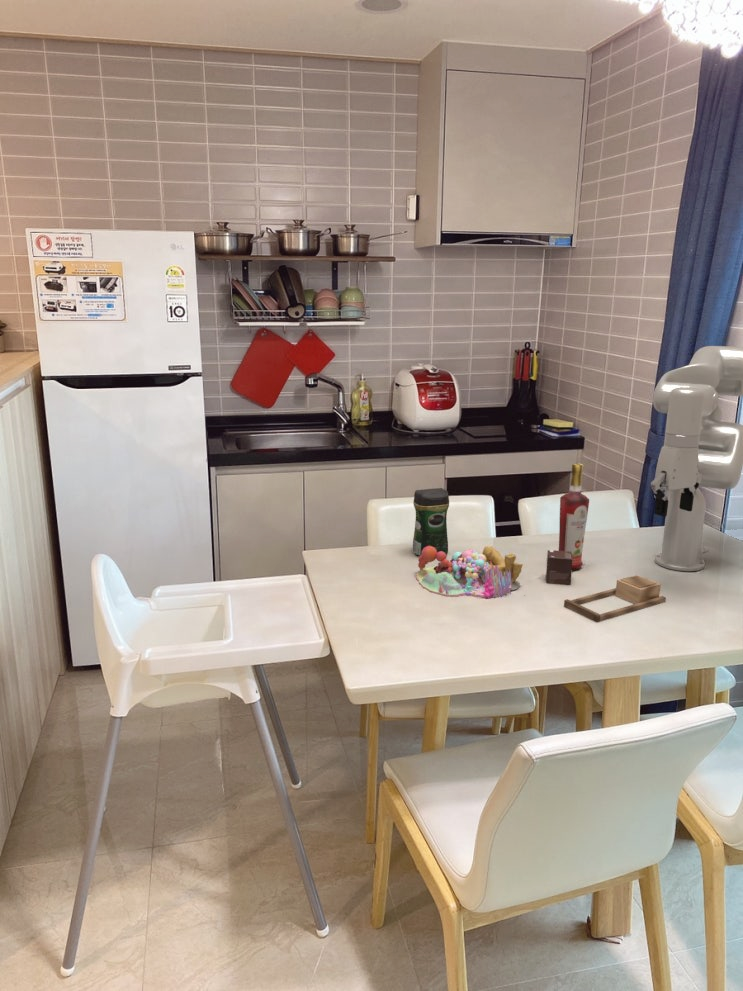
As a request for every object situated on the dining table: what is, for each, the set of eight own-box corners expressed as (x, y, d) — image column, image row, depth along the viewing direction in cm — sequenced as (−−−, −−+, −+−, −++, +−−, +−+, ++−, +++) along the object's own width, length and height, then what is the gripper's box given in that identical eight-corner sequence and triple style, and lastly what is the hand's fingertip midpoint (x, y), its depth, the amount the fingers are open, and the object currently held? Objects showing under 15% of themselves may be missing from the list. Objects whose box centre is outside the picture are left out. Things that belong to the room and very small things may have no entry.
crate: (635, 590, 188) (636, 574, 187) (658, 599, 182) (660, 583, 181) (615, 595, 184) (616, 579, 183) (638, 605, 178) (640, 589, 177)
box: (570, 587, 190) (573, 559, 188) (545, 585, 192) (547, 557, 190) (569, 578, 196) (571, 551, 194) (545, 576, 197) (547, 549, 195)
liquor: (573, 561, 208) (581, 460, 201) (588, 570, 202) (598, 466, 194) (549, 563, 206) (557, 462, 199) (564, 573, 199) (573, 468, 192)
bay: (631, 589, 189) (632, 581, 189) (665, 603, 181) (666, 595, 180) (563, 608, 178) (564, 600, 177) (596, 623, 169) (597, 615, 169)
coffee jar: (439, 547, 218) (442, 484, 213) (451, 556, 211) (454, 491, 206) (408, 551, 215) (409, 486, 210) (419, 560, 208) (421, 494, 203)
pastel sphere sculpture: (483, 561, 209) (484, 528, 206) (537, 591, 188) (540, 555, 186) (402, 575, 198) (403, 541, 195) (451, 608, 178) (452, 571, 175)
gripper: (691, 435, 186) (683, 504, 190) (643, 441, 177) (635, 513, 182) (719, 440, 180) (710, 511, 184) (670, 447, 171) (661, 521, 175)
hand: (673, 512), depth 183 cm, fingers open, 8 cm apart
